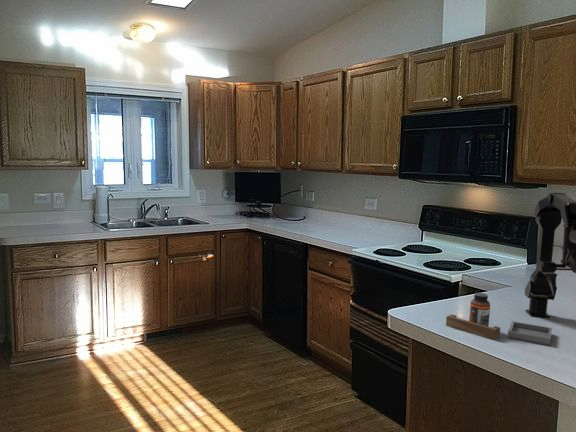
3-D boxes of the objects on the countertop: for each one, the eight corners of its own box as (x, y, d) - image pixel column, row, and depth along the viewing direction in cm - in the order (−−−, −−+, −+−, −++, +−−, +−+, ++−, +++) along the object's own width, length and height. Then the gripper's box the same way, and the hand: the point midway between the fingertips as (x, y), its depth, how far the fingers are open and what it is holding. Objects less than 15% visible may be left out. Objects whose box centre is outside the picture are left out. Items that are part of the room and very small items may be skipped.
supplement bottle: (465, 325, 165) (468, 291, 164) (483, 325, 166) (485, 291, 164) (473, 331, 159) (476, 296, 158) (491, 331, 160) (494, 296, 158)
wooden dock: (451, 323, 167) (452, 314, 166) (499, 337, 155) (500, 327, 154) (445, 325, 164) (446, 316, 164) (494, 339, 152) (494, 330, 152)
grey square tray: (511, 327, 164) (512, 321, 164) (551, 334, 159) (551, 327, 159) (507, 337, 154) (508, 331, 154) (549, 345, 149) (550, 339, 149)
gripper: (549, 246, 142) (546, 301, 143) (621, 249, 139) (617, 304, 140) (537, 241, 153) (534, 292, 154) (603, 244, 150) (600, 295, 151)
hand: (570, 296), depth 150 cm, fingers open, 9 cm apart
